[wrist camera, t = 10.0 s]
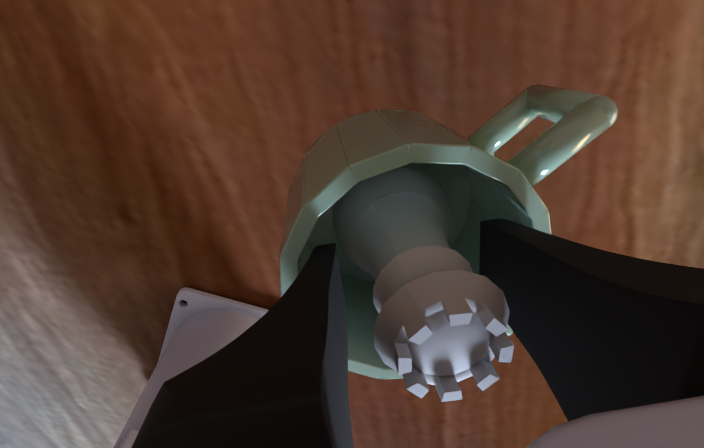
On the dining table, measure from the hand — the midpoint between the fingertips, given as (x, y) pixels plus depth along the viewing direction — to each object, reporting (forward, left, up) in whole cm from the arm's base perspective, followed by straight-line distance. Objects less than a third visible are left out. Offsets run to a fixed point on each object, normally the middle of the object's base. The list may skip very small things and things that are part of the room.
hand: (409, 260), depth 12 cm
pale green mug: (+1, 0, -4) cm, 4 cm away
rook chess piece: (0, 0, -4) cm, 4 cm away
